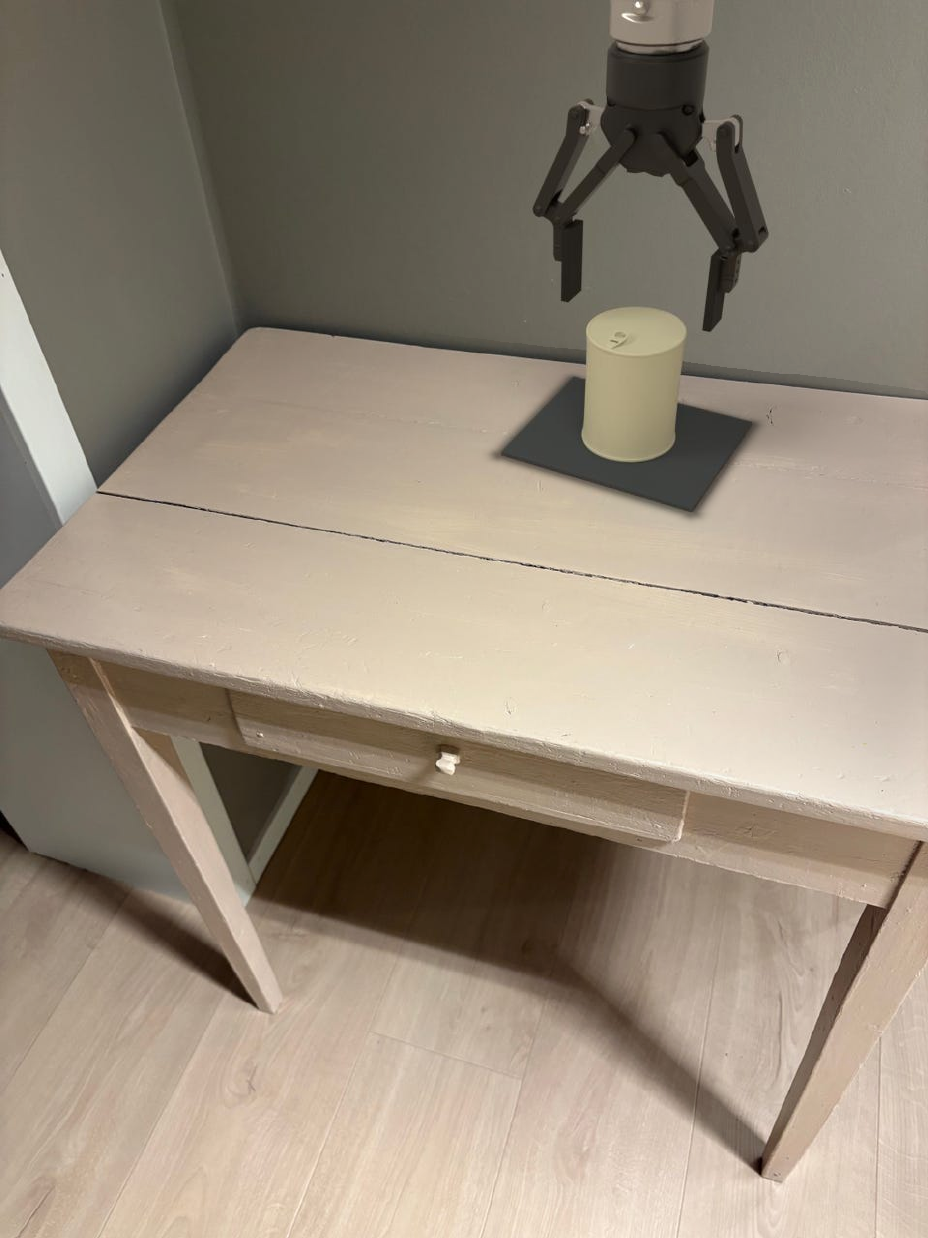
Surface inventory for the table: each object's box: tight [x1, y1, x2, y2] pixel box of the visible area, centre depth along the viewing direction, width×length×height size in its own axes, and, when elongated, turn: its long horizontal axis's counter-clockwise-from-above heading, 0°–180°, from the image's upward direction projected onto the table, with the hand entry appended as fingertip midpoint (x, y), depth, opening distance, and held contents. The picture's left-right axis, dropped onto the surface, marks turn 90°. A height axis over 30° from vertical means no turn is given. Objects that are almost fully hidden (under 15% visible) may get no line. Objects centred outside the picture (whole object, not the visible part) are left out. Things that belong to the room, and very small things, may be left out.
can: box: [582, 306, 688, 463], centre depth 91 cm, size 9×9×12 cm
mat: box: [500, 376, 753, 513], centre depth 96 cm, size 20×16×1 cm
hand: (639, 310), depth 86 cm, fingers open, 13 cm apart
